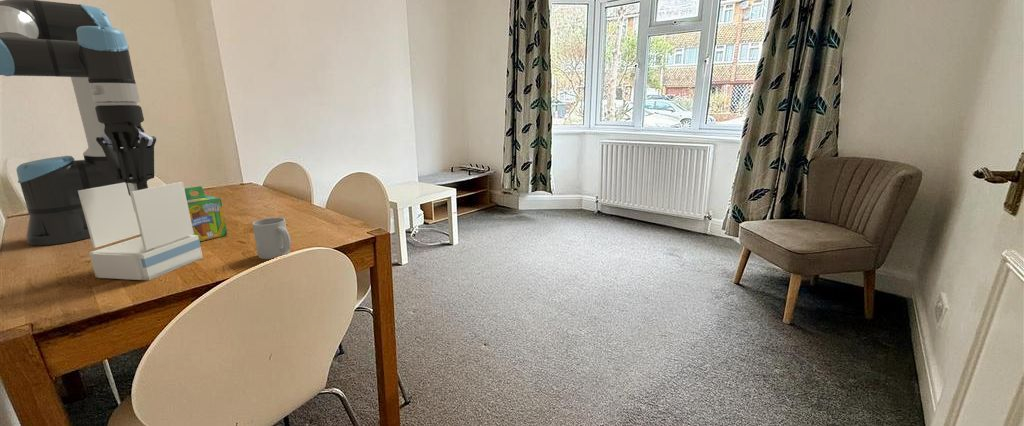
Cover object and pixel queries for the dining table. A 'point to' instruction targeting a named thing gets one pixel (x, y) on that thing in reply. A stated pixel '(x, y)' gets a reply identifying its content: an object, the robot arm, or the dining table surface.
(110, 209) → the flap
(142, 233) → the flap
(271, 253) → the cup
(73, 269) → the dining table surface
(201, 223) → the chalk box
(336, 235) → the dining table surface
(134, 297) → the dining table surface
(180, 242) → the carton
